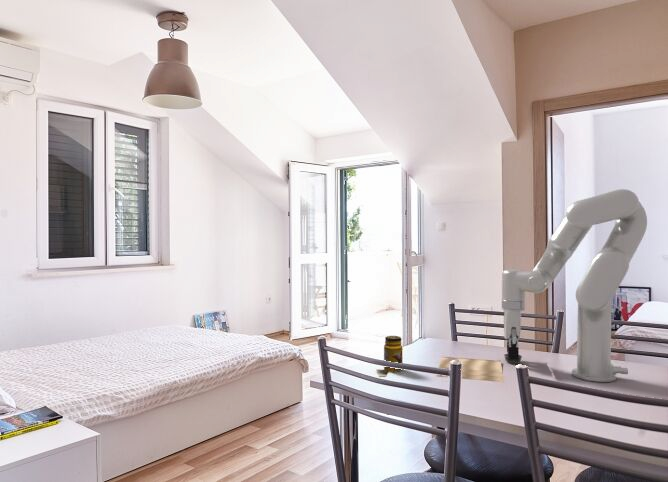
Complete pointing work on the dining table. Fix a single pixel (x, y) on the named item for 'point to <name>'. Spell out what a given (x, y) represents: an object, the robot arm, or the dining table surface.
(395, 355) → the condiment
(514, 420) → the dining table surface
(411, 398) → the dining table surface
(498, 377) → the laid floor planks
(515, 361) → the dark grey tall piece
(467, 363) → the board
